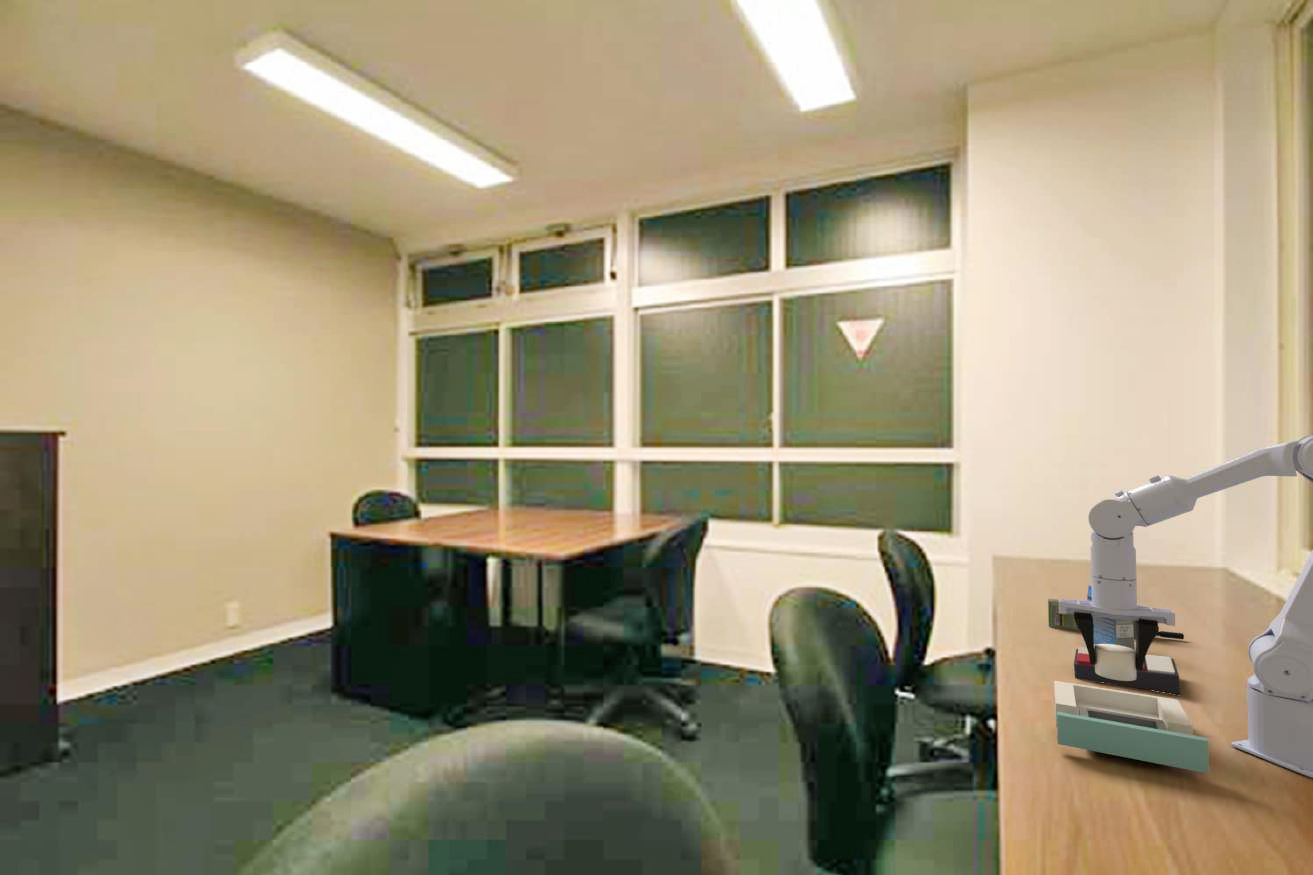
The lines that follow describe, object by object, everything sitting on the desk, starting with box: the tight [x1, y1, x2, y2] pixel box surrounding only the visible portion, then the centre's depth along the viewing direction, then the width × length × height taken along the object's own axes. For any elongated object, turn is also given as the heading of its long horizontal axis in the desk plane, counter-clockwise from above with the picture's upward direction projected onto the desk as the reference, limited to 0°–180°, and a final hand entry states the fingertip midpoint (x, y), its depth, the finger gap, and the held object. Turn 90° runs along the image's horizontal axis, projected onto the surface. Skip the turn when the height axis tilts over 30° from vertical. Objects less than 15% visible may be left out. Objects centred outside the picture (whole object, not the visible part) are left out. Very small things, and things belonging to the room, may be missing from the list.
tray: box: [1056, 706, 1210, 774], centre depth 89 cm, size 11×16×4 cm
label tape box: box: [1086, 584, 1136, 651], centre depth 135 cm, size 9×4×12 cm, turn 0°
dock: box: [1053, 680, 1194, 735], centre depth 97 cm, size 11×16×4 cm
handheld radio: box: [1047, 598, 1185, 640], centre depth 145 cm, size 7×3×25 cm
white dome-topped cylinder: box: [1094, 644, 1137, 681], centre depth 98 cm, size 5×5×4 cm
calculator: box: [1073, 646, 1182, 696], centre depth 117 cm, size 11×4×15 cm
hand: (1115, 665), depth 98 cm, fingers closed on white dome-topped cylinder, 5 cm apart
